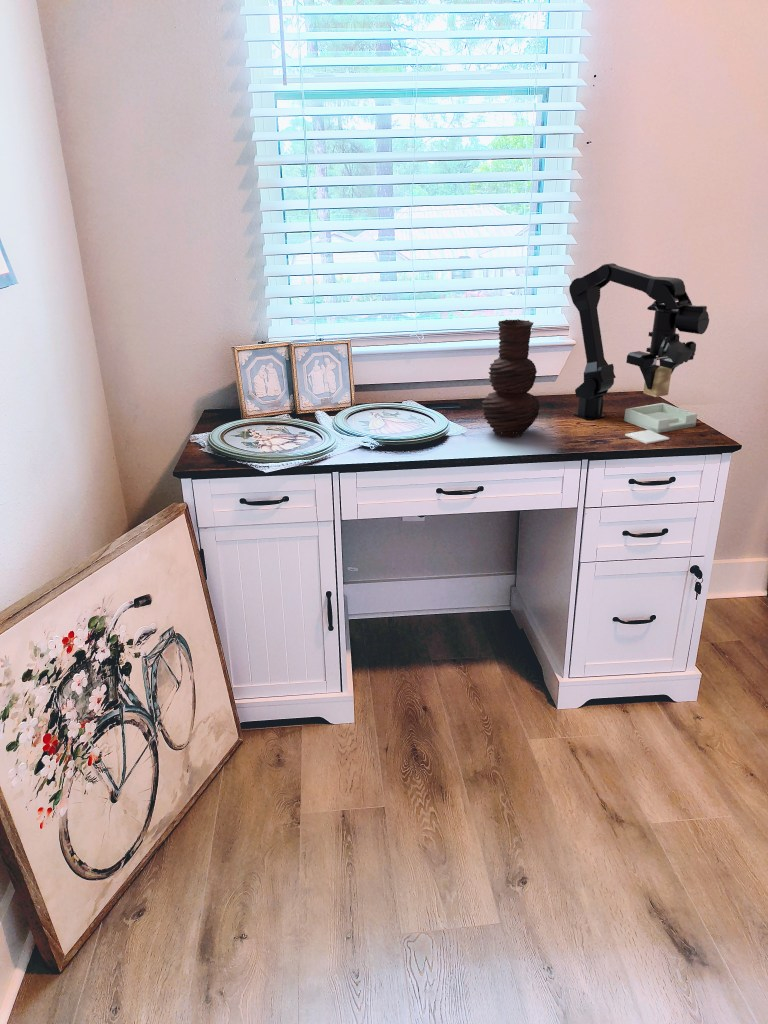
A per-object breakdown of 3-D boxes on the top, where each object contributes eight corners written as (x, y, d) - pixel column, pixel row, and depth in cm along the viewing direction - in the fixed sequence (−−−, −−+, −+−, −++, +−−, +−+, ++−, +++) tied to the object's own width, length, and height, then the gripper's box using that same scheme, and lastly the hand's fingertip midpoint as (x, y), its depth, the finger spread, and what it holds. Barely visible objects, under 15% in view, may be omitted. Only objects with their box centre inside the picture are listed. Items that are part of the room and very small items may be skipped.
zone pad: (646, 443, 198) (646, 442, 198) (624, 435, 204) (625, 433, 204) (669, 439, 201) (669, 438, 201) (647, 431, 207) (647, 429, 207)
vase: (468, 433, 208) (472, 321, 195) (506, 421, 217) (512, 315, 204) (511, 446, 197) (518, 329, 185) (549, 434, 206) (558, 322, 194)
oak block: (655, 397, 200) (659, 370, 198) (643, 393, 204) (646, 367, 201) (668, 394, 202) (671, 369, 200) (655, 391, 206) (659, 365, 203)
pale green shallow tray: (657, 433, 206) (658, 420, 204) (624, 420, 216) (625, 408, 215) (695, 426, 211) (697, 414, 210) (661, 414, 222) (662, 402, 221)
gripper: (661, 337, 186) (652, 399, 192) (715, 330, 194) (705, 390, 200) (628, 330, 195) (621, 389, 201) (681, 324, 203) (672, 381, 209)
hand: (656, 388), depth 203 cm, fingers closed on oak block, 4 cm apart
